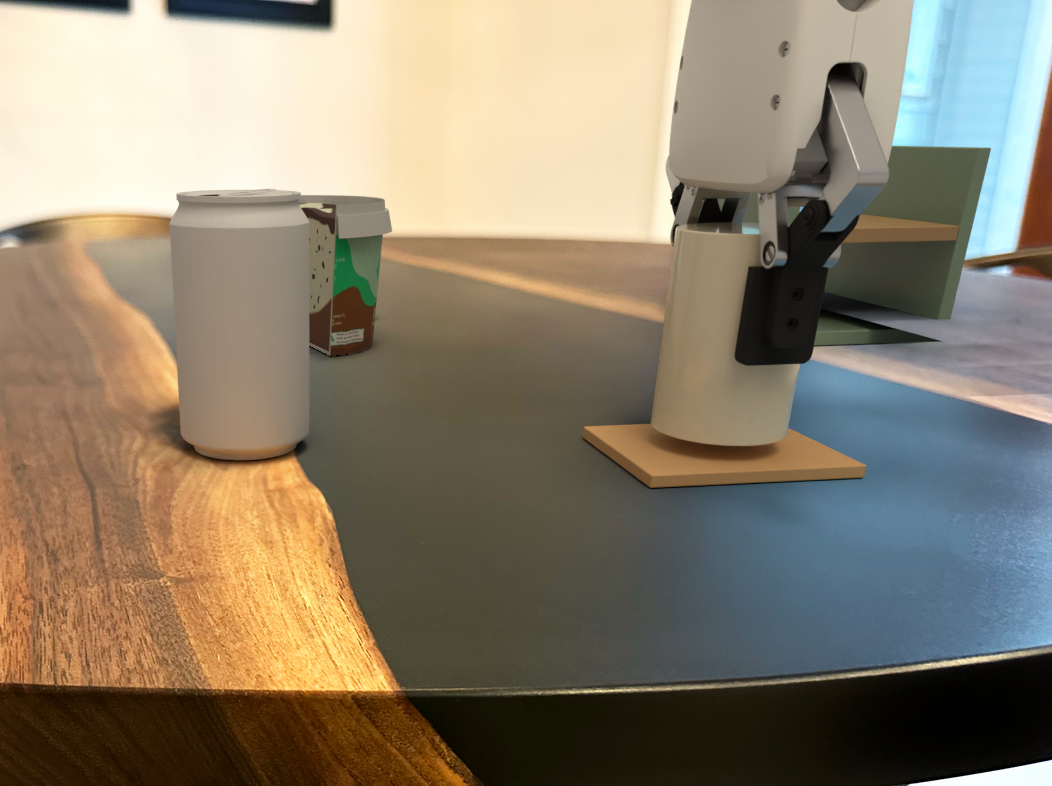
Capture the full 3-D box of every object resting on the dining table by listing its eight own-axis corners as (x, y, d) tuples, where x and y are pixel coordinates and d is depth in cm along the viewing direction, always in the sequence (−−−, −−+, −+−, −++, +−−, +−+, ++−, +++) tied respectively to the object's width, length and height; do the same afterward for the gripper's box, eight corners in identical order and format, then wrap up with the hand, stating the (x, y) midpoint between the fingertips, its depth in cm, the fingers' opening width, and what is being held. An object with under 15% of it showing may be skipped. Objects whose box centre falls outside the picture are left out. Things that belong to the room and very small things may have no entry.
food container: (419, 353, 71) (425, 202, 67) (338, 360, 69) (339, 205, 65) (347, 324, 82) (348, 192, 78) (275, 330, 80) (273, 195, 76)
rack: (830, 310, 86) (862, 145, 81) (945, 341, 73) (992, 147, 68) (673, 314, 85) (696, 146, 80) (762, 347, 72) (796, 149, 67)
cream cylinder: (744, 410, 51) (776, 221, 47) (814, 443, 45) (855, 233, 42) (629, 414, 50) (653, 223, 47) (686, 449, 45) (717, 236, 41)
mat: (768, 429, 52) (770, 418, 52) (864, 478, 45) (867, 465, 45) (581, 437, 51) (583, 426, 51) (650, 488, 44) (651, 475, 44)
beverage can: (168, 436, 52) (152, 188, 48) (285, 423, 54) (281, 185, 50) (200, 471, 47) (187, 196, 42) (329, 456, 49) (330, 191, 44)
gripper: (1075, -180, 32) (938, 388, 39) (775, -76, 47) (716, 314, 55) (851, -186, 31) (752, 395, 38) (621, -79, 47) (581, 318, 54)
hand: (731, 343), depth 46 cm, fingers closed on cream cylinder, 6 cm apart
